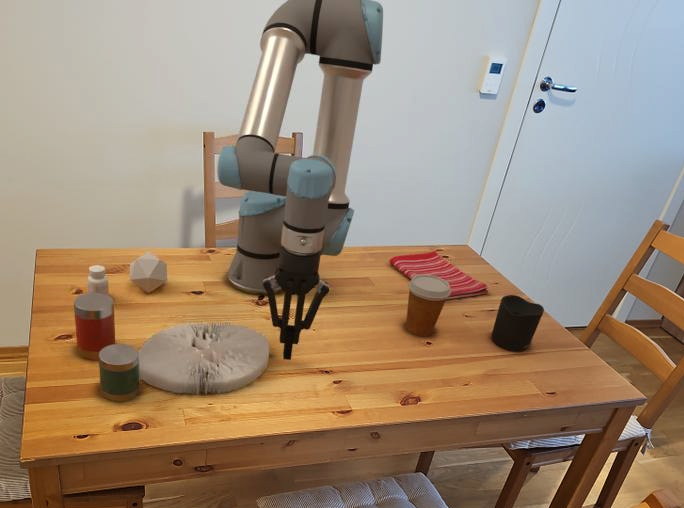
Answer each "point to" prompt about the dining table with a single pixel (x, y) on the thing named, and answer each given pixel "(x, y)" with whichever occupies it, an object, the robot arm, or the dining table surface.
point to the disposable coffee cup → (425, 303)
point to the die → (148, 272)
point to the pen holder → (516, 323)
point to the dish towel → (439, 273)
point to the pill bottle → (97, 280)
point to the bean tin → (119, 372)
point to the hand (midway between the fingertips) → (286, 356)
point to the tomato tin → (94, 324)
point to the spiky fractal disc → (203, 357)
